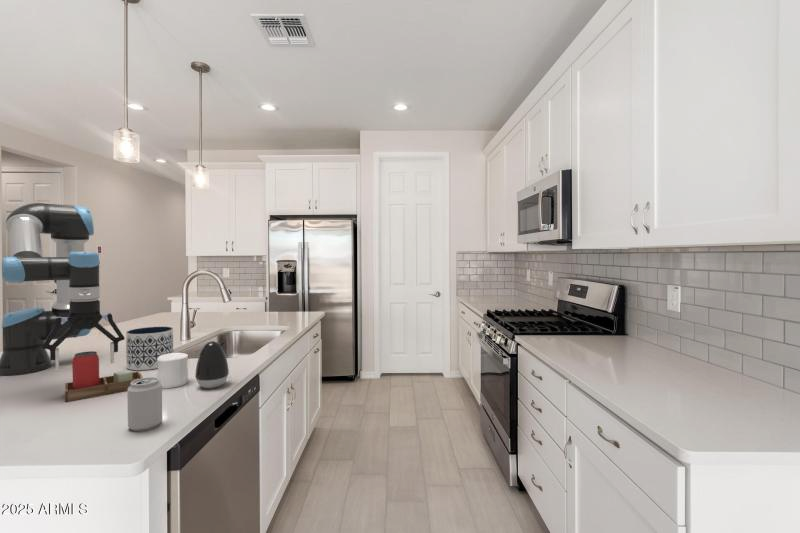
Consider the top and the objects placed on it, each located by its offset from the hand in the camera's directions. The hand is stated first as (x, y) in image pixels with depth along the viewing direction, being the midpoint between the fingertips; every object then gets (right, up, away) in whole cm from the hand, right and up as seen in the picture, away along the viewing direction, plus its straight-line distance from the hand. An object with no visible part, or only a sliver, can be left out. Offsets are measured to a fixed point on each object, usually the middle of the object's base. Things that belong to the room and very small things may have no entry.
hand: (85, 366), depth 123 cm
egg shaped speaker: (+37, -9, +8) cm, 39 cm away
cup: (+22, -9, +9) cm, 26 cm away
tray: (+4, -9, +3) cm, 10 cm away
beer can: (0, -8, 0) cm, 8 cm away
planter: (0, -8, +32) cm, 33 cm away
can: (+35, -10, -23) cm, 43 cm away
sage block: (+8, -8, +6) cm, 12 cm away
